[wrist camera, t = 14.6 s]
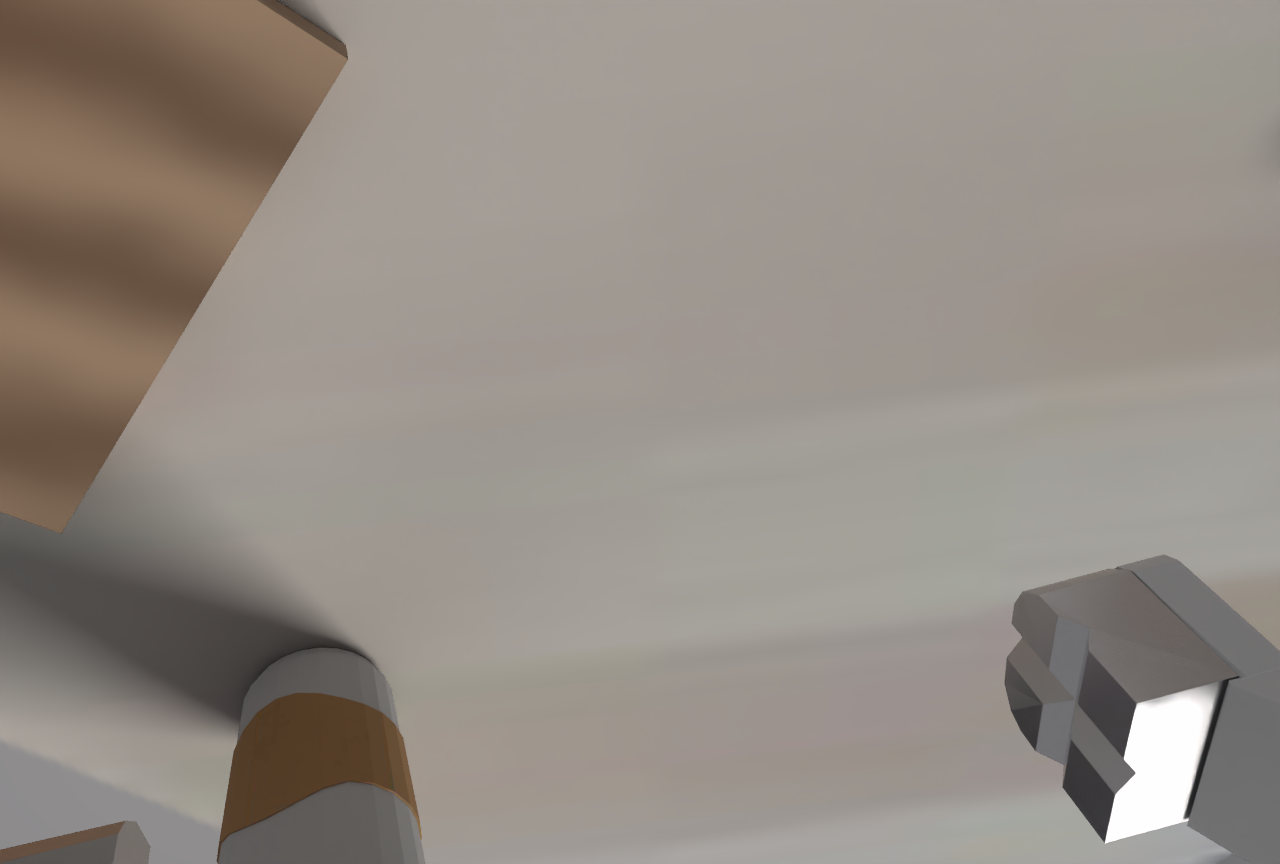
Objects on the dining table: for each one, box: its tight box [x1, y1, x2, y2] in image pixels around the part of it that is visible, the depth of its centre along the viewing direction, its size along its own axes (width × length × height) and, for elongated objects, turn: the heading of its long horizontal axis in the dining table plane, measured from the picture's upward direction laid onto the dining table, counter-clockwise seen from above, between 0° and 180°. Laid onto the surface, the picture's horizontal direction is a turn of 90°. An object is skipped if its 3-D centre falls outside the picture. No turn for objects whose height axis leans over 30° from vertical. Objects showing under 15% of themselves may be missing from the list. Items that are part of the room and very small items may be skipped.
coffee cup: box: [217, 648, 425, 864], centre depth 43 cm, size 8×8×15 cm
